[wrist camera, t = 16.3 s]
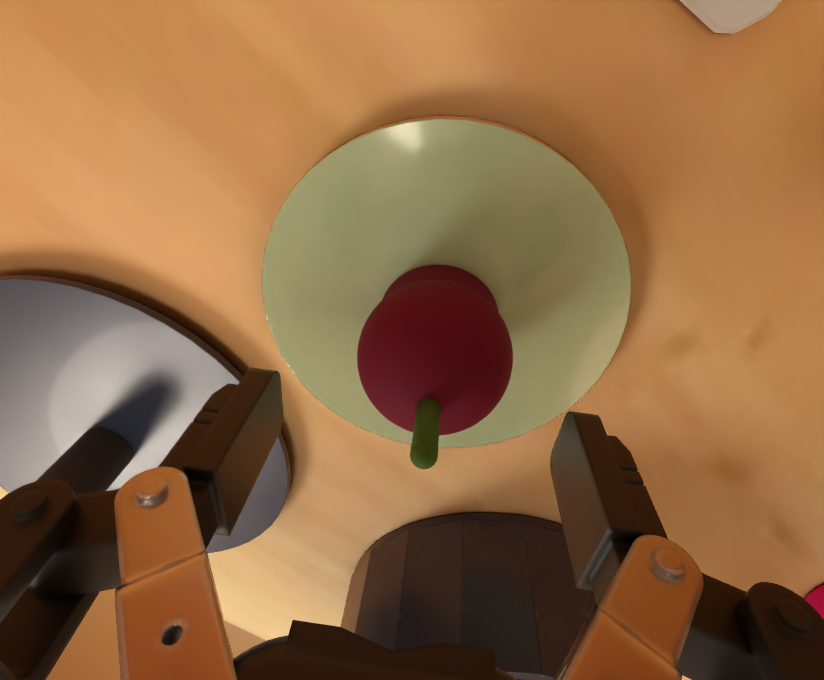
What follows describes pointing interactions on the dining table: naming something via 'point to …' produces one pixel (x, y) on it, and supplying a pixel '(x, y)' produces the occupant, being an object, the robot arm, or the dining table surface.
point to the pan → (473, 590)
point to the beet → (435, 355)
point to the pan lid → (108, 394)
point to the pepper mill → (817, 599)
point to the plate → (449, 262)
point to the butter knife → (730, 13)
